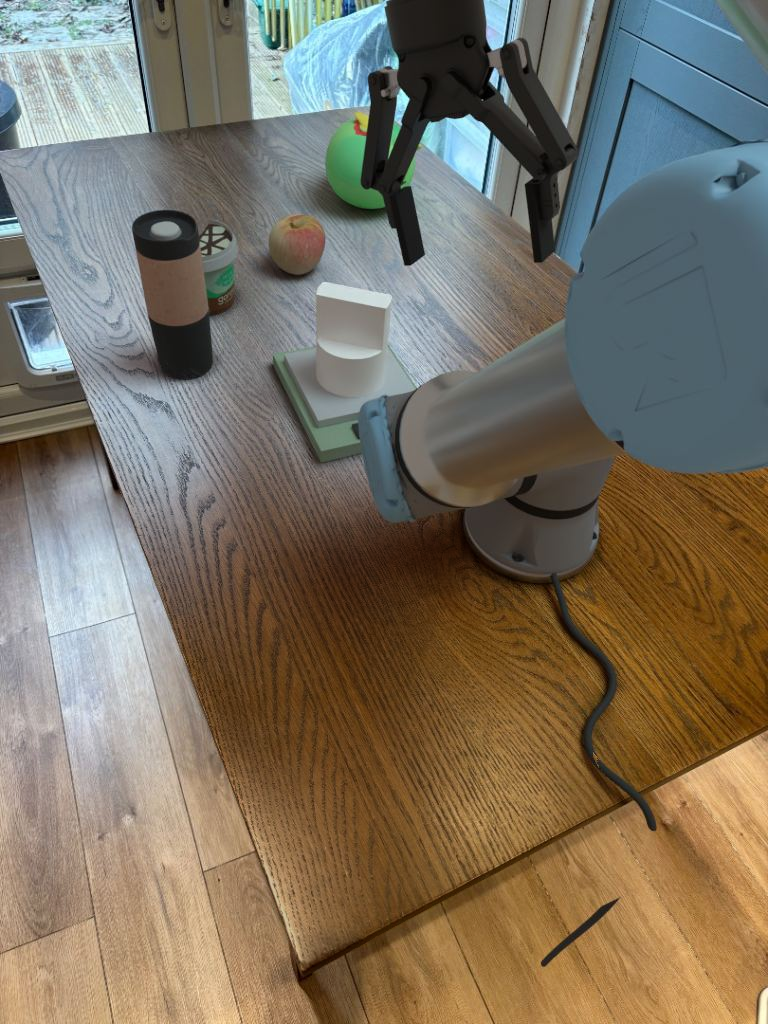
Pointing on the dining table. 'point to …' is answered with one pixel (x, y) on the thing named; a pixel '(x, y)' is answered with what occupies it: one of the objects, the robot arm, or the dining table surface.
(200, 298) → the travel mug
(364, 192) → the toy bird
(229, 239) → the food container
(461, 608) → the dining table surface
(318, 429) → the scale
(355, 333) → the base with upright slab
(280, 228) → the apple
